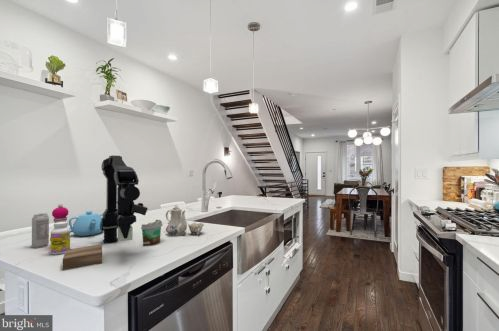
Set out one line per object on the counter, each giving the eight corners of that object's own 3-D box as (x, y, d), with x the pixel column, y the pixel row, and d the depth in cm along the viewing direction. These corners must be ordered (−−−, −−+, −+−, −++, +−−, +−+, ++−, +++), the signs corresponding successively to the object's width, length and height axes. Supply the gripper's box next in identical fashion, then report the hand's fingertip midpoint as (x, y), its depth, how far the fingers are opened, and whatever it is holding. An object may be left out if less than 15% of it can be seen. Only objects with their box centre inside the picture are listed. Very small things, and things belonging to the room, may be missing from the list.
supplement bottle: (48, 256, 100) (48, 225, 100) (52, 251, 105) (52, 222, 106) (68, 253, 103) (68, 223, 103) (71, 249, 108) (71, 220, 109)
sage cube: (117, 238, 100) (117, 226, 100) (131, 237, 103) (131, 225, 103) (118, 241, 96) (118, 229, 96) (132, 239, 99) (132, 227, 99)
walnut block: (66, 259, 95) (66, 249, 96) (101, 254, 102) (101, 244, 102) (62, 270, 85) (62, 258, 85) (102, 263, 92) (102, 252, 92)
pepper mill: (53, 251, 106) (54, 205, 106) (47, 248, 110) (47, 204, 110) (72, 246, 112) (73, 203, 113) (65, 244, 116) (66, 202, 116)
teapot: (105, 228, 147) (105, 207, 147) (114, 234, 132) (114, 211, 133) (65, 234, 134) (65, 211, 134) (69, 242, 119) (70, 216, 119)
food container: (153, 247, 110) (153, 225, 111) (141, 246, 112) (141, 224, 112) (167, 239, 122) (167, 219, 123) (156, 239, 124) (156, 219, 124)
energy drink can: (45, 243, 117) (45, 212, 117) (51, 245, 114) (51, 213, 114) (29, 247, 112) (29, 214, 112) (34, 249, 109) (34, 215, 109)
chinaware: (209, 236, 134) (211, 206, 136) (186, 240, 120) (189, 206, 122) (174, 229, 149) (177, 202, 151) (151, 233, 135) (154, 203, 137)
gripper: (150, 199, 96) (150, 239, 96) (142, 195, 112) (142, 229, 112) (118, 201, 90) (118, 243, 90) (115, 197, 106) (115, 233, 106)
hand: (125, 236), depth 99 cm, fingers closed on sage cube, 5 cm apart
